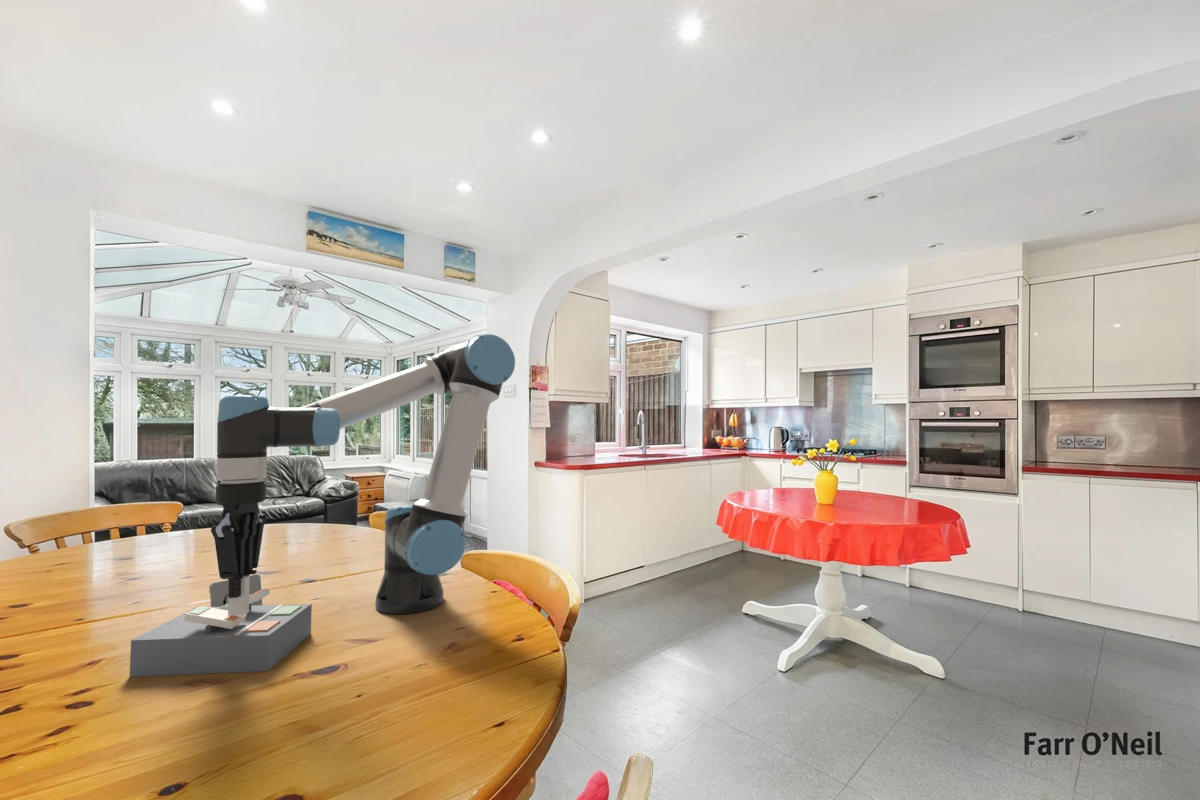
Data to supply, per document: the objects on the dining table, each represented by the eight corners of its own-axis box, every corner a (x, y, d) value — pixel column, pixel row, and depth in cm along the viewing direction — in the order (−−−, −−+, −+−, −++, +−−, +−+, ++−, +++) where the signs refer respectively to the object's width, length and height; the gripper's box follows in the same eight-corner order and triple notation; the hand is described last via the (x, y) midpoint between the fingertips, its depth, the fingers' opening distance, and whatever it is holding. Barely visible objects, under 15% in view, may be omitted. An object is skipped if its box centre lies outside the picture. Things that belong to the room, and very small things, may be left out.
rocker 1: (245, 620, 95) (246, 613, 95) (231, 628, 91) (233, 621, 91) (199, 612, 94) (201, 605, 94) (184, 620, 90) (186, 612, 90)
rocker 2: (270, 593, 103) (267, 587, 103) (258, 600, 99) (256, 593, 99) (229, 609, 102) (227, 603, 102) (216, 617, 98) (214, 610, 98)
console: (310, 634, 105) (311, 597, 105) (267, 671, 89) (269, 628, 90) (194, 638, 103) (196, 601, 103) (129, 676, 87) (131, 633, 88)
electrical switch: (212, 630, 107) (212, 584, 108) (204, 627, 110) (205, 582, 111) (263, 618, 114) (263, 574, 115) (255, 615, 118) (255, 572, 119)
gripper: (241, 478, 100) (238, 602, 99) (195, 485, 87) (190, 629, 86) (282, 477, 101) (279, 601, 100) (242, 484, 88) (238, 626, 87)
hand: (238, 613), depth 93 cm, fingers closed
